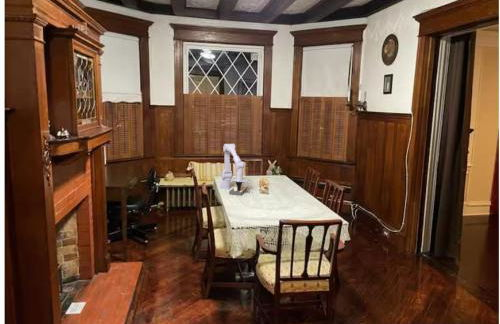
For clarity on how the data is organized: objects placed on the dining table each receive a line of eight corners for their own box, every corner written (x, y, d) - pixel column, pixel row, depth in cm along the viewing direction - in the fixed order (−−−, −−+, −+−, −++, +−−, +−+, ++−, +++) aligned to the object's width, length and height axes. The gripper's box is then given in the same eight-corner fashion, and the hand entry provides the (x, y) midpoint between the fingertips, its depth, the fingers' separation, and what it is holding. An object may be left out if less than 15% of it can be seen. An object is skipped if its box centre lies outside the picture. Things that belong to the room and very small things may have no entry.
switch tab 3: (240, 187, 348) (240, 184, 348) (240, 186, 351) (240, 183, 351) (243, 187, 348) (243, 184, 347) (243, 187, 350) (244, 184, 350)
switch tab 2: (238, 189, 341) (238, 186, 341) (238, 188, 344) (238, 185, 344) (241, 189, 341) (241, 186, 340) (242, 188, 344) (242, 185, 343)
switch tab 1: (233, 190, 335) (233, 187, 335) (234, 189, 338) (234, 186, 338) (237, 191, 335) (237, 187, 334) (238, 190, 337) (238, 187, 337)
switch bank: (229, 194, 335) (229, 191, 334) (235, 189, 355) (235, 186, 354) (241, 195, 332) (241, 192, 332) (246, 190, 352) (247, 187, 352)
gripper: (230, 175, 331) (230, 190, 333) (246, 176, 328) (245, 191, 330) (232, 174, 338) (232, 188, 340) (248, 175, 335) (247, 190, 337)
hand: (238, 190), depth 336 cm, fingers closed
